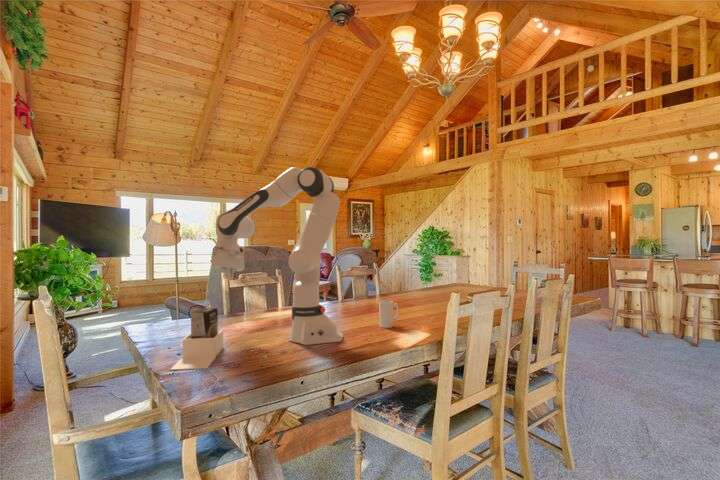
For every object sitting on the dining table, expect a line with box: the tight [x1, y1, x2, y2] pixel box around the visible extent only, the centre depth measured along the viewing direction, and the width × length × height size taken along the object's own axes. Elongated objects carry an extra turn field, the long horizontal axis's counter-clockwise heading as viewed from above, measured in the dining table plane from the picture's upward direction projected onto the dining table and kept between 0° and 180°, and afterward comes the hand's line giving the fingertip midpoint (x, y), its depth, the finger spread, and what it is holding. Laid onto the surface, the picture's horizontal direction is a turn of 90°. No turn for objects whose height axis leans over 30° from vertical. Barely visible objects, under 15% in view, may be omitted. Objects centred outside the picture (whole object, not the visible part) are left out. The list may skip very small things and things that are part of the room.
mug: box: [378, 299, 400, 329], centre depth 187 cm, size 10×7×12 cm, turn 105°
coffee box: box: [190, 307, 219, 339], centre depth 148 cm, size 9×6×16 cm
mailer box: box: [169, 329, 224, 371], centre depth 142 cm, size 12×25×7 cm, turn 7°
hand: (229, 279), depth 173 cm, fingers closed
